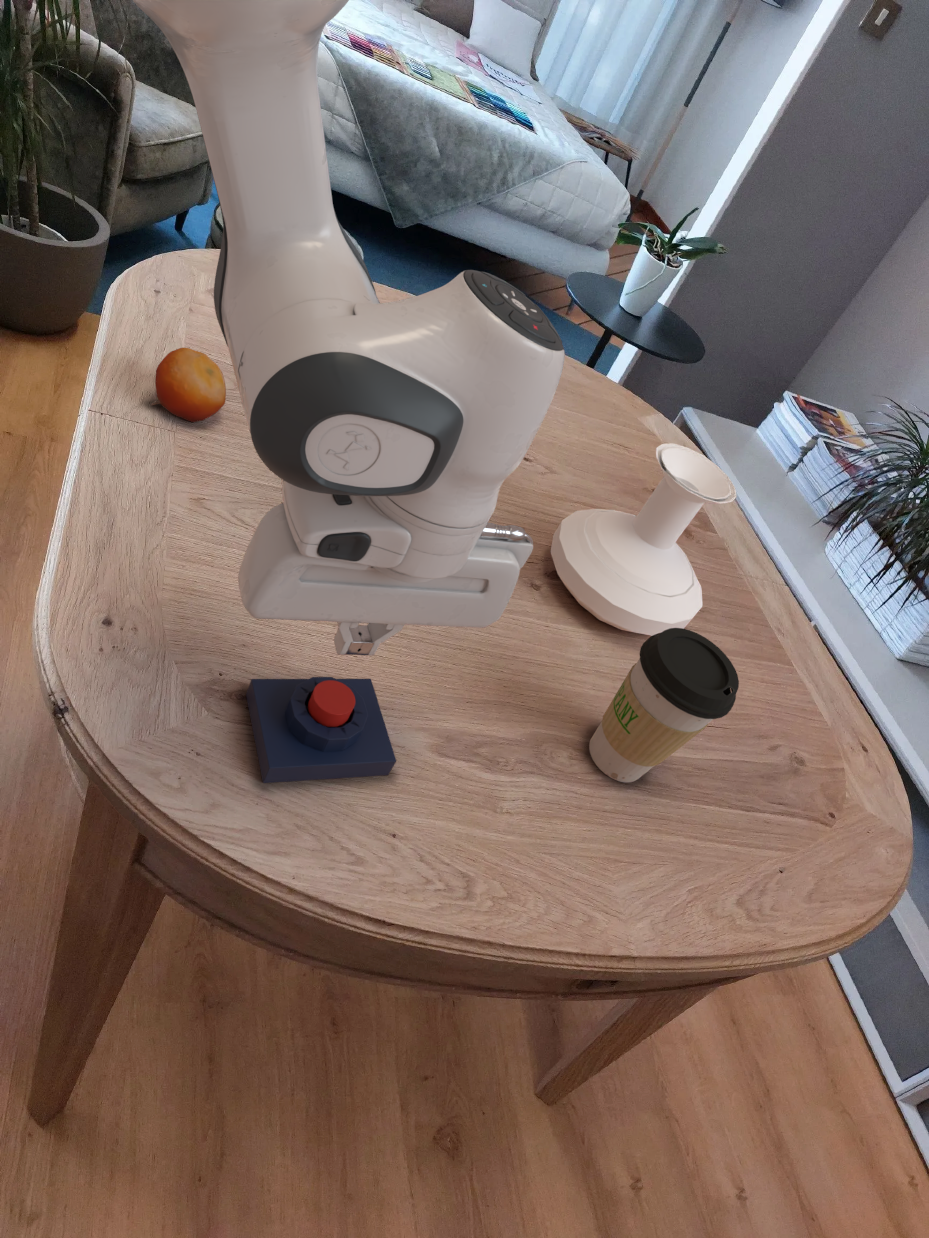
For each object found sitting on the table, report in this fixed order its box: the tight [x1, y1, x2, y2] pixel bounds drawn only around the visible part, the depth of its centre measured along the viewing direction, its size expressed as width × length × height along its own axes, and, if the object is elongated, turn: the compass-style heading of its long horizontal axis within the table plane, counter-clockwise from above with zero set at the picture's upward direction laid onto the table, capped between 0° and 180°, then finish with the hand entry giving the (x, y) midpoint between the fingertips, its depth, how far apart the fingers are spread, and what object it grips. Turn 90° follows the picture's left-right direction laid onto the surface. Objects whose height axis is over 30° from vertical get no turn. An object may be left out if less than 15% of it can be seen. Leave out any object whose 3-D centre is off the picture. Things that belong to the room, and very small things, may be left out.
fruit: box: [150, 347, 227, 423], centre depth 95 cm, size 8×8×8 cm
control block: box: [245, 676, 397, 784], centre depth 71 cm, size 11×9×4 cm
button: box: [308, 680, 355, 727], centre depth 70 cm, size 4×4×2 cm
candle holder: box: [550, 442, 738, 637], centre depth 100 cm, size 20×20×19 cm
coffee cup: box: [588, 628, 740, 783], centre depth 81 cm, size 10×10×15 cm
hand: (352, 648), depth 65 cm, fingers closed
